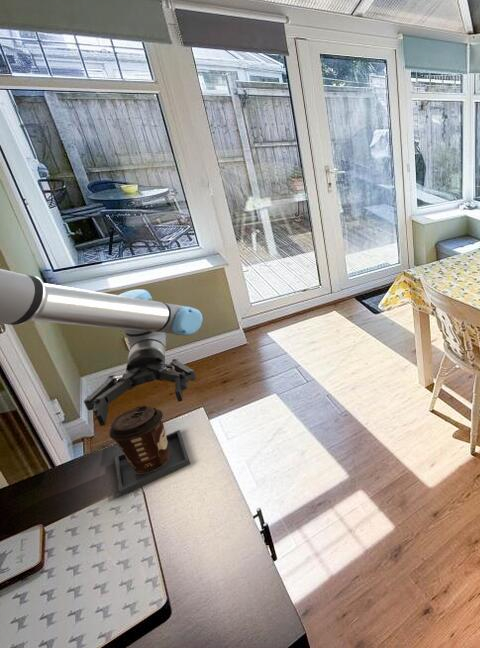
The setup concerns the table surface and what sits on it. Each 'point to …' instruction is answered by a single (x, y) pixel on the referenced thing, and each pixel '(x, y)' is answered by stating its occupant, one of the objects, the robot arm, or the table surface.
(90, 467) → the table surface
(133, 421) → the coffee cup
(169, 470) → the coaster pad
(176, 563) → the table surface
